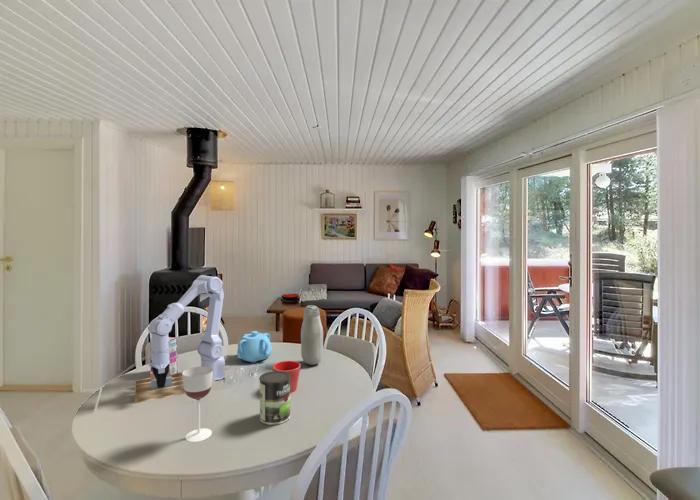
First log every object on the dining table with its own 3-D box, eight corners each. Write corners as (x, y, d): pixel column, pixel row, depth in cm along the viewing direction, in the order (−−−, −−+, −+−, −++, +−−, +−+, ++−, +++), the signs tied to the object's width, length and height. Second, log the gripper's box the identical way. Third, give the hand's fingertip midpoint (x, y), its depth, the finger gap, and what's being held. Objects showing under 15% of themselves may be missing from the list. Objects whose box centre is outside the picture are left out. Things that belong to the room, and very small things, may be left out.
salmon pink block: (170, 382, 148) (169, 368, 148) (170, 384, 147) (170, 370, 146) (150, 386, 145) (150, 371, 145) (150, 388, 143) (150, 373, 143)
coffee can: (296, 414, 125) (296, 374, 124) (275, 428, 116) (275, 385, 116) (274, 407, 131) (274, 368, 130) (253, 419, 122) (252, 378, 121)
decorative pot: (242, 353, 188) (242, 327, 187) (273, 353, 189) (273, 327, 188) (233, 365, 172) (233, 336, 171) (268, 364, 172) (267, 336, 172)
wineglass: (188, 428, 116) (187, 367, 115) (216, 427, 117) (216, 366, 116) (179, 442, 108) (178, 377, 107) (209, 441, 109) (208, 376, 108)
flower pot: (306, 388, 146) (306, 365, 145) (283, 397, 138) (283, 372, 137) (289, 381, 153) (289, 358, 153) (267, 389, 145) (267, 365, 145)
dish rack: (184, 380, 153) (184, 371, 153) (188, 395, 140) (188, 385, 139) (134, 389, 145) (134, 379, 144) (133, 406, 131) (133, 395, 130)
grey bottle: (326, 362, 175) (326, 304, 174) (313, 369, 167) (313, 308, 165) (310, 358, 181) (310, 302, 179) (297, 364, 172) (296, 306, 170)
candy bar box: (178, 374, 160) (177, 337, 159) (169, 378, 155) (168, 340, 154) (159, 370, 164) (159, 334, 163) (150, 374, 159) (149, 337, 158)
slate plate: (171, 391, 141) (171, 376, 141) (172, 393, 139) (171, 378, 139) (151, 395, 137) (150, 379, 137) (151, 397, 136) (150, 381, 135)
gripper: (148, 346, 142) (148, 380, 142) (148, 358, 129) (149, 395, 130) (168, 344, 145) (168, 377, 146) (170, 354, 132) (171, 391, 133)
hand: (161, 385), depth 138 cm, fingers closed on slate plate, 2 cm apart
